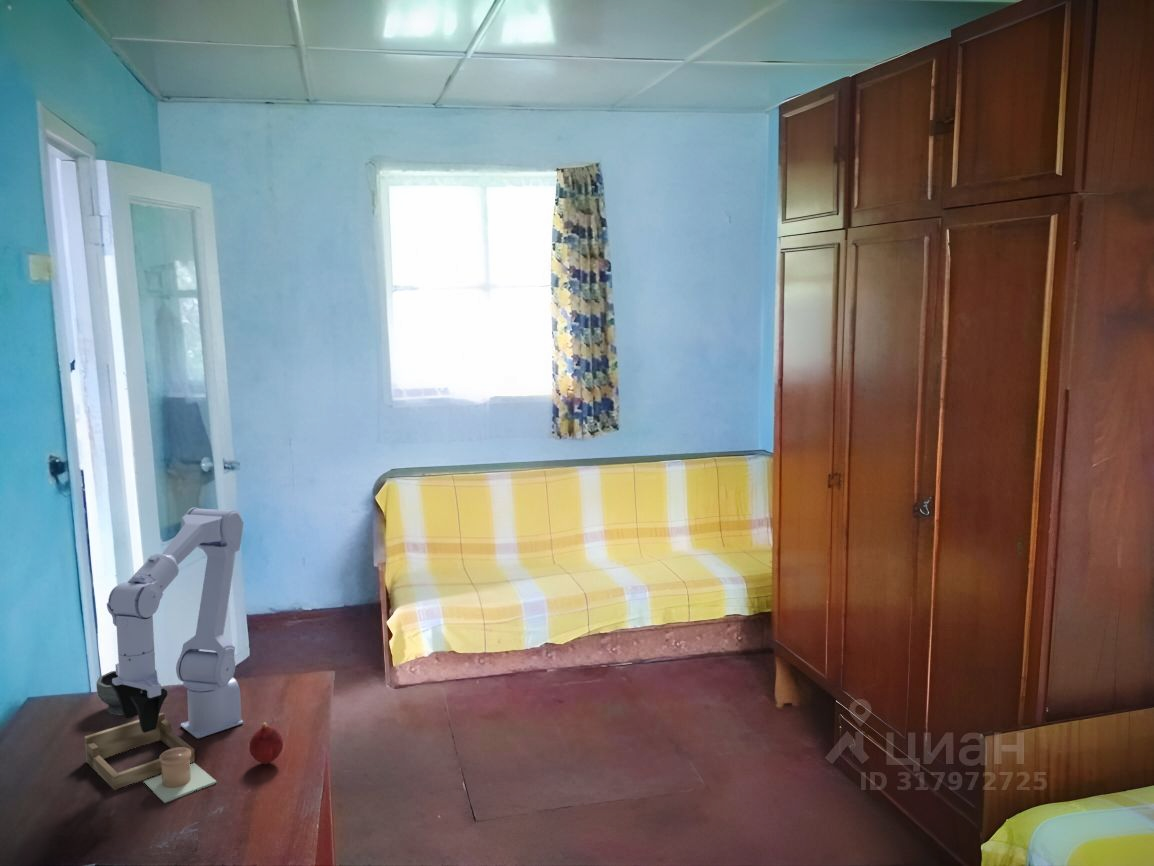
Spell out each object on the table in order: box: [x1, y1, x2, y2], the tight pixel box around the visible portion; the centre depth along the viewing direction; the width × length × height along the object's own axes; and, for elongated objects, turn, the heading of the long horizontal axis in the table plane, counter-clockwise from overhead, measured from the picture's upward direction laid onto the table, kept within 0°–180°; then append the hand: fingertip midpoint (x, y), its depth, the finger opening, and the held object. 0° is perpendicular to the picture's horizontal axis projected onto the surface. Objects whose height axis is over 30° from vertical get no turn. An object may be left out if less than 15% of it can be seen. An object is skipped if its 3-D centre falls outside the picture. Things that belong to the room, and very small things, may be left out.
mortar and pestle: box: [95, 670, 143, 716], centre depth 184 cm, size 11×9×12 cm
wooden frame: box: [84, 712, 196, 791], centre depth 162 cm, size 14×14×5 cm
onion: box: [249, 721, 284, 765], centre depth 162 cm, size 6×6×8 cm
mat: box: [143, 762, 217, 804], centre depth 155 cm, size 9×9×1 cm
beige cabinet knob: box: [158, 747, 191, 788], centre depth 155 cm, size 5×5×5 cm
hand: (140, 723), depth 156 cm, fingers open, 7 cm apart
